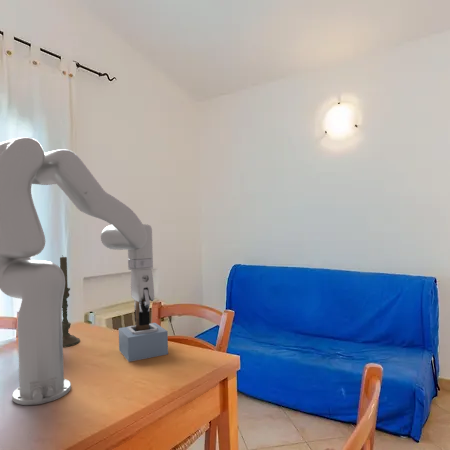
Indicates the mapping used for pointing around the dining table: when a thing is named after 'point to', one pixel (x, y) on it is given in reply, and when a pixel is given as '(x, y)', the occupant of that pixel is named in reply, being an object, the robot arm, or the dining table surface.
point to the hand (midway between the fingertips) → (142, 322)
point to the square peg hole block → (143, 342)
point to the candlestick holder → (67, 338)
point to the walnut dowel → (138, 327)
